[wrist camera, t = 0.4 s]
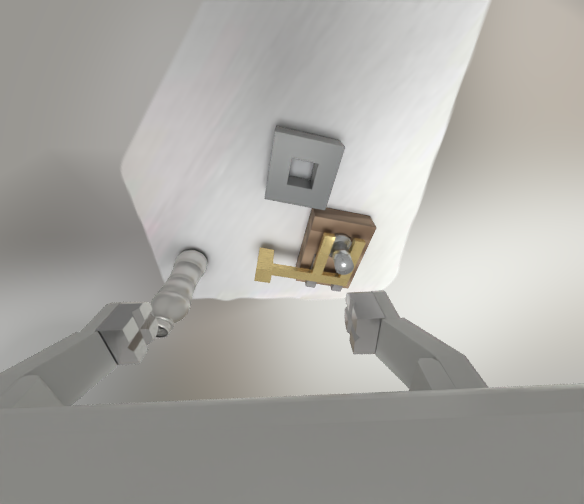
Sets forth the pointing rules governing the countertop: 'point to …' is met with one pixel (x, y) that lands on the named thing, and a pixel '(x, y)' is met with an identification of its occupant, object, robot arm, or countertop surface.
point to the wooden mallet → (316, 274)
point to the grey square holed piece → (303, 148)
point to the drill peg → (342, 254)
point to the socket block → (333, 224)
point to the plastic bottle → (178, 291)
